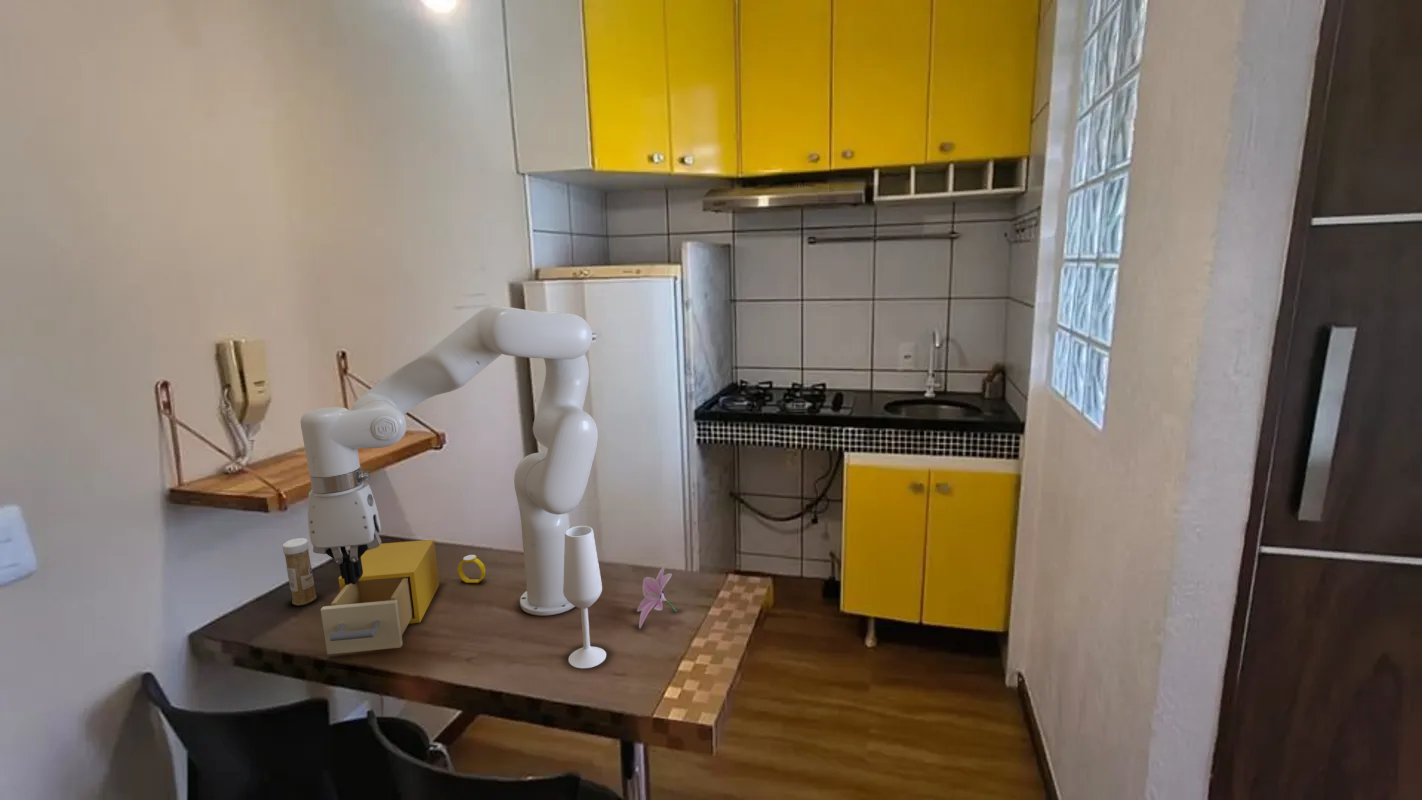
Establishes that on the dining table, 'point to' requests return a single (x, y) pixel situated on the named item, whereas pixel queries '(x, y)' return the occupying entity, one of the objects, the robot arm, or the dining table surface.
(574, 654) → the champagne flute
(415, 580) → the cabinet
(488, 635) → the dining table surface
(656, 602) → the lily
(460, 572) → the watch
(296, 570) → the sprinkles bottle
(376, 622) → the drawer
